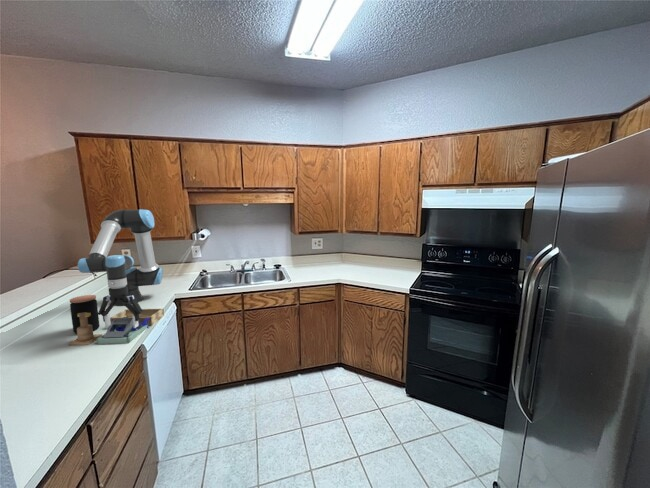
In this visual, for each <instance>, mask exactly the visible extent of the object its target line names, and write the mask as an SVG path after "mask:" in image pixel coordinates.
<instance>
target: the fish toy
mask: <svg viewBox="0 0 650 488" xmlns="http://www.w3.org/2000/svg"><path fill="white" fill-rule="evenodd" d="M148 320H149V318H146V319H145V320H144V321H143V322H142V323H141V324H140V323H138V325H139V326H140V325H143V326H146V325H147V321H148ZM125 328H126V327H116V328H115V330H116V331H124V330H125ZM147 329H150V326H147ZM134 330H138V329H137V327H136V328H134V326H133V327H132V329H131V331H134Z"/></svg>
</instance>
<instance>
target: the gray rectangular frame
mask: <svg viewBox="0 0 650 488" xmlns="http://www.w3.org/2000/svg"><path fill="white" fill-rule="evenodd" d="M116 327H126V328H125V330H124V331H114V330H115V328H116ZM132 327H133V319H129V318H128V317H123V319H114V320H113V322H112V323H111V325H110V327H109V328H108V329H106V332H105V333H104V334H105V335H104V334H103V335H104V337H103V338H127V336H128V334H129V332H130V331H131V329H132Z"/></svg>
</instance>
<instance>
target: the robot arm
mask: <svg viewBox="0 0 650 488" xmlns="http://www.w3.org/2000/svg"><path fill="white" fill-rule="evenodd" d="M155 225H156V224H155V218H154V215H153V213H152V211H151V210H148V209H141V208H140V209H118V210H115V211H113V212H111V213H109V214H108V215H106V216H105V218H104V219H103V220H102V222H101V224H100V230H99V232H98V234H97V237H96V239H95V241H94V243H93V245H92V247H91V250H90V252H89V253H88V256H87V257H84V258H83V257H82V258H80V259H79V260H78V262H77V270H78V271H79V273H82V274H92V273H103V272H104V273H105V272H106V279H107V287H108V295H106V296H103V298H102V303H101V305H100V308H99V309H98V316H100V315H101V316H102V321H103V322H104V326H105V327H104V328H105V329H106V330H108V328H109V327H110V325H111V321H110V318H111V314H109V313H110V312H111V310H112V309H113V308H114V307H115V306H121V307H122V306H124V307H125V308H127V309H129V310H130V311H131V312H132V313H133V314H134V315H133V326H134V328H136V327H138V326H139V325H138V320H139V314H140V313H142V312H143V310H142V309H143V308H142V307H141V305H140V304H139V303H141V302H142V301H143V299H144V298H143V296H142V293H141V291H140V289H139V287H144V286H146V287H147V286H157V285H160V284H161V283H162V280H163V275H164V273H163V271H164V270H163V267H160V265H159V264H158V263H157V262H156V257H155V253H154V247H153V240H152V235H151V231H153V228H155ZM123 229H127V230H128V229H129V230H130V233H131V234H133V235H134V240H135V244H136V249H137V253H138V254H137V255H138V259H139V263H140V265H139V267H137V266H134V264H135V260H134V257H132V256H131V255H128V254H127V255H126V254H125V255H123V254H116V255H115V254H114V255H109V253H110V250H111V249H112V246H113V243H114V241H115V239H116V236H117V234H118V233H120V232H121V230H123ZM108 255H109V256H108ZM109 301H110V303H109Z"/></svg>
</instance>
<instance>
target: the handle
mask: <svg viewBox="0 0 650 488" xmlns="http://www.w3.org/2000/svg"><path fill="white" fill-rule="evenodd" d="M77 315H78V317H79V318H80V327H78V328H77V334H76V335H77V338H76V339H74V340H72V341H70V342H69V343H68V346H89V345H90V344H92V343H94V342H95V341H96V339H97V338H99V337H101V336H102V335H103V334H102V333H101V334H99V333H98V334H94V331H93V327H92V325H88V319H87V317H89V316H91V313H87V312H83V313H78V314H77Z"/></svg>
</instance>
